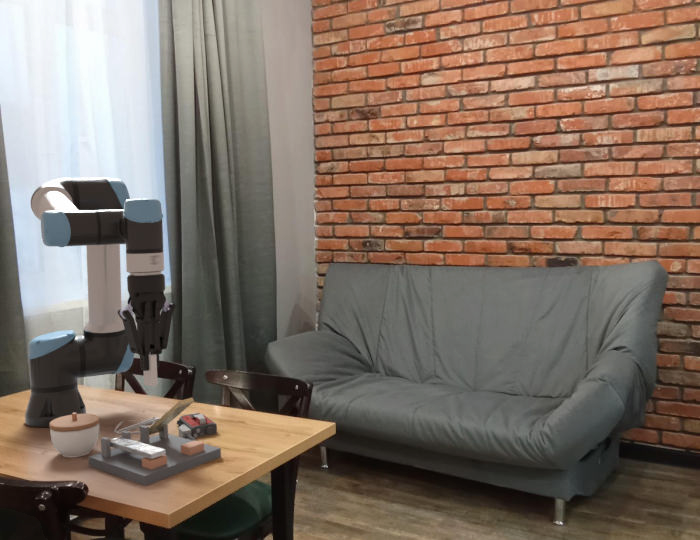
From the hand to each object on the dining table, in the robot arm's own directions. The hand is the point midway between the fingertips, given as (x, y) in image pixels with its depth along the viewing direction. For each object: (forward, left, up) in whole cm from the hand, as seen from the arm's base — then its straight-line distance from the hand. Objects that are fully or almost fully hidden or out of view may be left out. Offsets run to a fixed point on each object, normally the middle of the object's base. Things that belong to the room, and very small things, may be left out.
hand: (150, 384), depth 145 cm
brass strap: (-5, +8, -10) cm, 14 cm away
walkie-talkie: (-11, +21, -19) cm, 31 cm away
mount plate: (-4, +3, -18) cm, 19 cm away
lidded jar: (-24, -4, -19) cm, 31 cm away
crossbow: (-29, +18, -19) cm, 39 cm away
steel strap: (-4, -2, -15) cm, 15 cm away
